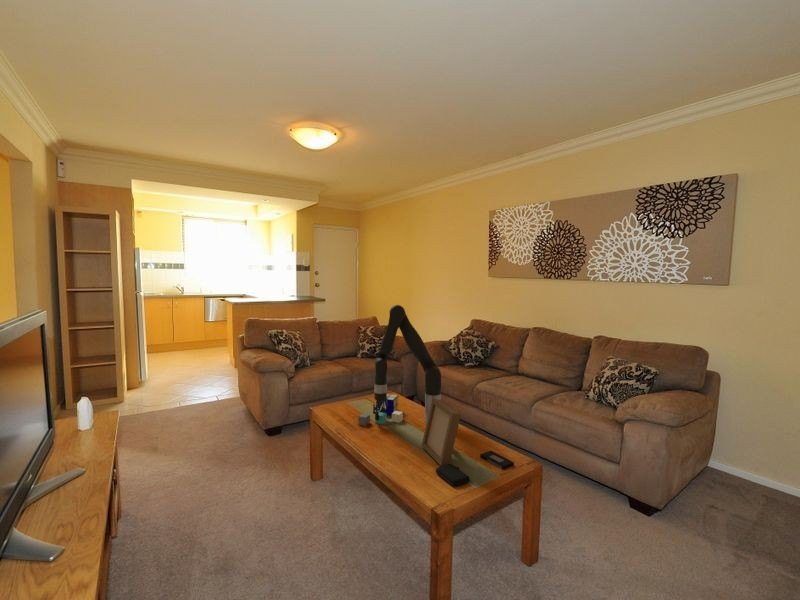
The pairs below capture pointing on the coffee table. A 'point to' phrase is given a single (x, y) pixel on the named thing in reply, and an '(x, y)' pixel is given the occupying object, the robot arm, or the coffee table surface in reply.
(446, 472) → the carrying case or bag
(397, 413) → the off-white block
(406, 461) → the coffee table surface
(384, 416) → the teal block
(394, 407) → the puzzle cube
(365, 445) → the coffee table surface
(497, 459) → the vhs tape
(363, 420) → the charcoal block
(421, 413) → the coffee table surface
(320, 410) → the coffee table surface
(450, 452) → the photo frame
